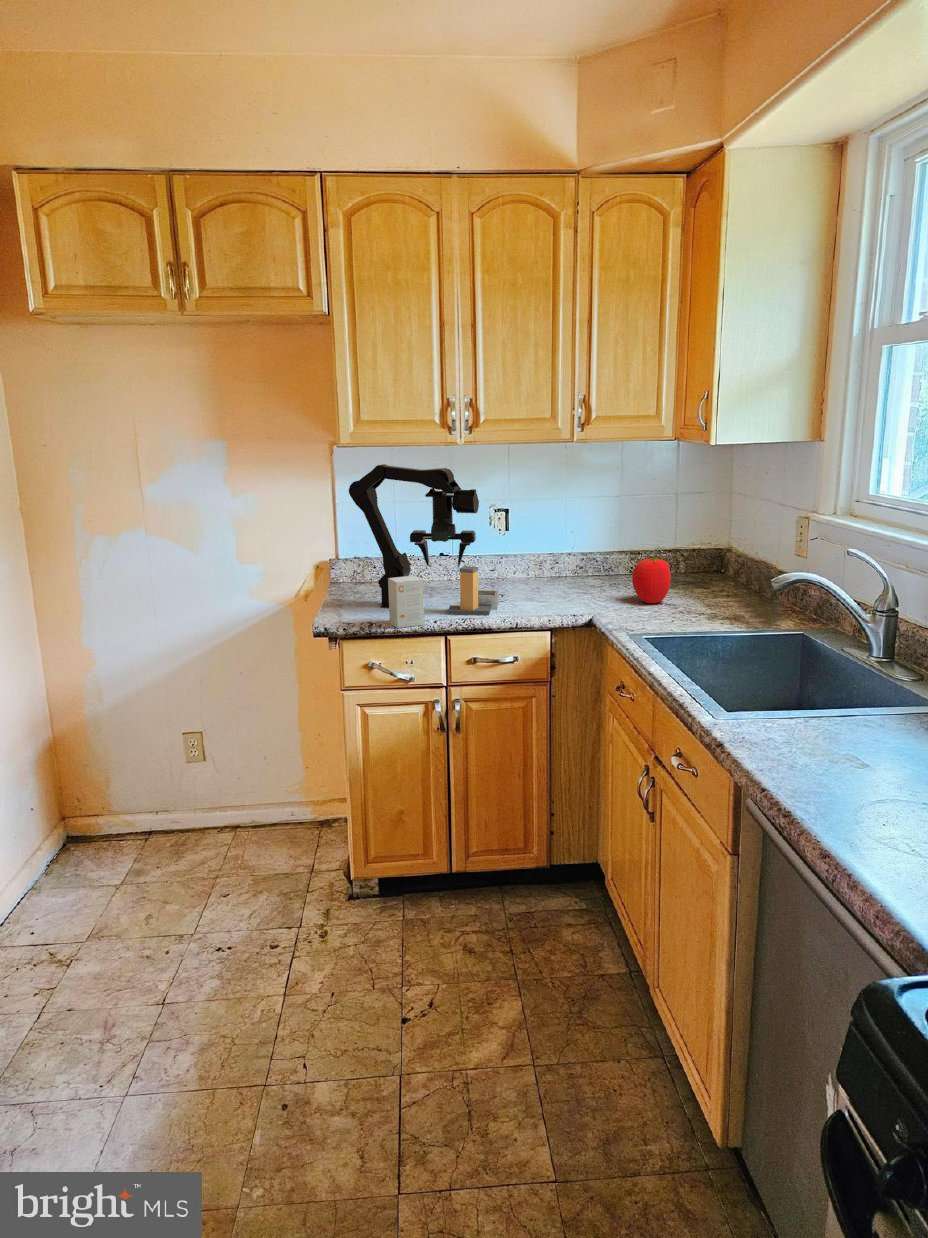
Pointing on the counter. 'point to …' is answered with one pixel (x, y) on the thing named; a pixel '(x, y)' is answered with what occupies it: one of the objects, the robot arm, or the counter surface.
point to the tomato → (651, 580)
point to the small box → (406, 601)
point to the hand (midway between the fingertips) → (443, 565)
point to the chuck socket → (488, 598)
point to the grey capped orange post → (469, 588)
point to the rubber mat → (478, 611)
